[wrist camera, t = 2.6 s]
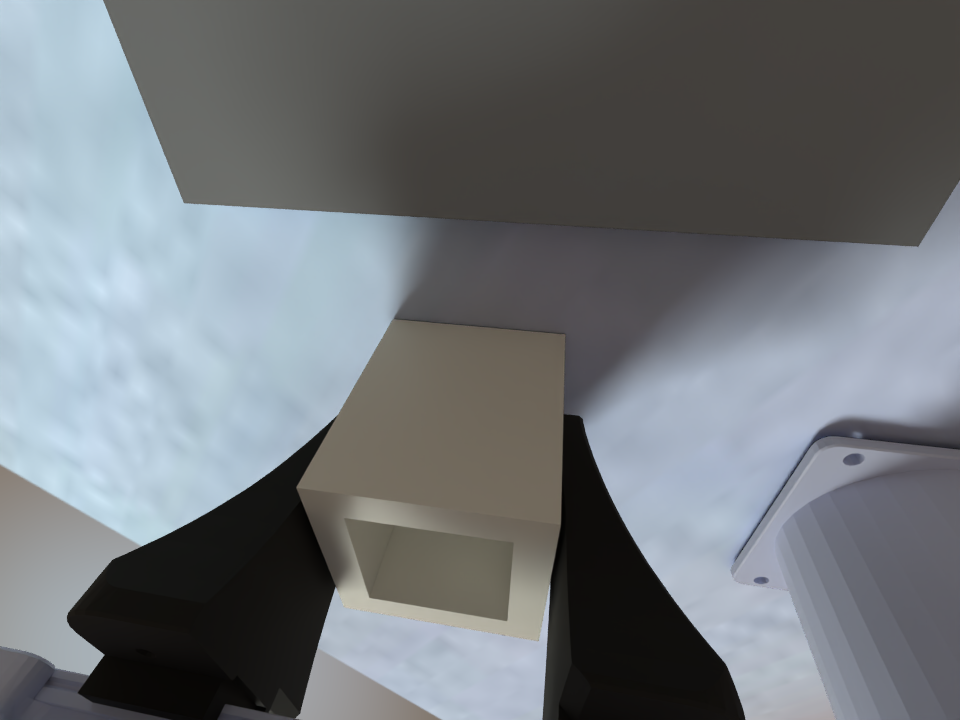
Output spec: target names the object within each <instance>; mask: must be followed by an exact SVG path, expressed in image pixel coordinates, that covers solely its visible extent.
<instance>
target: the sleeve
mask: <svg viewBox="0 0 960 720" xmlns="http://www.w3.org/2000/svg"><path fill="white" fill-rule="evenodd" d="M564 369H565V334H555V333H543V332H532V331H521V330H510V329H499V328H487V327H476V326H465V325H454V324H442V323H431V322H420V321H409V320H397V319H393V320H392V322H391V323H390V325H389V327H388V329H387V330H386V332H385V334H384V336H383V337H382V339H381V341H380V343H379V344H378V346H377V348H376V350H375V351H374V353H373V355H372V357H371V358H370V360H369V362H368V364H367V365H366V367H365V369H364V370H363V372H362V374H361V376H360V377H359V379H358V381H357V383H356V384H355V386H354V388H353V390H352V391H351V393H350V395H349V397H348V398H347V400H346V402H345V404H344V405H343V407H342V409H341V411H340V412H339V414H338V416H337V417H336V419H335V421H334V423H333V424H332V426H331V428H330V430H329V431H328V433H327V435H326V437H325V438H324V440H323V442H322V444H321V445H320V447H319V449H318V451H317V452H316V454H315V456H314V458H313V459H312V461H311V463H310V464H309V466H308V468H307V470H306V471H305V473H304V475H303V477H302V478H301V480H300V482H299V484H298V485H297V487H296V488H297V491H298V493H299V496H300V498H301V501H302V503H303V506H304V508H305V511H306V513H307V516H308V518H309V521H310V523H311V526H312V528H313V531H314V533H315V536H316V538H317V541H318V543H319V546H320V548H321V551H322V553H323V556H324V558H325V561H326V563H327V566H328V568H329V571H330V573H331V576H332V578H333V581H334V583H335V586H336V588H337V591H338V593H339V596H340V598H341V601H342V603H343V606H344V607H345V608H350V609H356V610H362V611H368V612H373V613H379V614H385V615H391V616H396V617H402V618H408V619H414V620H419V621H425V622H431V623H437V624H442V625H448V626H454V627H460V628H465V629H471V630H477V631H483V632H488V633H494V634H500V635H505V636H511V637H517V638H523V639H528V640H534V641H539V637H540V632H541V627H542V621H543V616H544V611H545V606H546V600H547V595H548V590H549V584H550V579H551V574H552V569H553V563H554V558H555V553H556V548H557V542H558V537H559V532H560V526H561V495H562V453H563V411H564Z"/></svg>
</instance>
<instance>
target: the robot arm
mask: <svg viewBox="0 0 960 720" xmlns="http://www.w3.org/2000/svg"><path fill="white" fill-rule="evenodd" d="M337 416H338V415H337ZM337 416H336V417H337ZM336 417H335V418H334V419H333V420H332V421H331V422H330V423H329V424H328V425H327V426H326V427H324V428H323V429H322V430H321V431H320V432H319V433H318V434H317V435H315V436H314V437H313V438H312V439H311V440H310V441H309V442H308V443H306V444H305V445H304V446H303V447H302V448H300V449H299V450H298V451H297V452H295V453H294V454H293V455H292V456H291V457H289V458H288V459H287V460H286V461H284V462H283V463H282V464H281V465H279V466H278V467H277V468H275V469H274V470H273V471H271V472H270V473H269V474H267V475H266V476H265V477H263V478H262V479H260V480H259V481H258V482H256V483H255V484H253V485H252V486H250V487H249V488H247V489H246V490H244V491H243V492H241V493H240V494H238V495H236V496H235V497H233V498H231V499H230V500H228V501H226V502H225V503H223V504H222V505H220V506H218V507H217V508H215V509H213V510H212V511H210V512H208V513H207V514H205V515H203V516H201V517H199V518H198V519H196V520H194V521H192V522H190V523H188V524H187V525H185V526H183V527H181V528H179V529H177V530H175V531H173V532H171V533H169V534H167V535H165V536H163V537H161V538H159V539H157V540H155V541H153V542H151V543H148V544H146V545H144V546H142V547H140V548H138V549H136V550H133V551H131V552H129V553H127V554H125V555H122V556H120V557H118V558H115V559H113V560H112V561H111V562H110V563H109V565H108V566H107V567H106V568H105V569H104V570H103V572H102V573H101V574H100V575H99V576H98V578H97V579H96V580H95V581H94V583H93V584H92V585H91V586H90V588H88V590H87V591H86V592H85V593H84V595H83V596H82V597H81V598H80V599H79V601H78V602H77V603H76V604H75V605H74V607H73V608H72V609H71V610H70V612H69V613H68V615H67V622H68V623H69V625H70V627H71V628H72V629H73V630H74V631H75V632H76V633H77V634H79V635H80V636H81V637H83V638H84V639H85V640H86V641H88V642H89V643H90V644H92V645H93V646H94V647H95V648H97V649H98V650H99V651H101V652H102V653H103V654H104V657H103V658H102V659H101V661H100V662H99V663H98V665H97V666H96V668H95V669H94V670H93V672H92V673H91V675H90V676H89V675H84V674H80V673H75V672H70V671H66V670H61V669H56V668H55V666H54V665H53V664H52V663H51V662H49V661H48V660H46V659H44V658H42V657H40V656H38V655H35V654H33V653H29V652H26V651H21V650H16V649H11V648H7V647H1V646H0V720H299V719H295V718H296V717H297V716H298V715H299V714H300V711H301V707H302V703H303V699H304V695H305V692H306V688H307V683H308V680H309V676H310V672H311V669H312V665H313V661H314V657H315V653H316V650H317V647H318V643H319V640H320V636H321V633H322V629H323V626H324V622H325V619H326V616H327V612H328V609H329V606H330V603H331V600H332V596H333V593H334V590H335V587H336V586H335V583H334V581H333V578H332V576H331V573H330V571H329V568H328V566H327V563H326V561H325V558H324V556H323V553H322V551H321V548H320V546H319V543H318V541H317V538H316V536H315V533H314V531H313V528H312V526H311V523H310V521H309V518H308V516H307V513H306V511H305V508H304V506H303V503H302V501H301V498H300V496H299V493H298V491H297V488H296V487H297V485H298V484H299V482H300V480H301V478H302V477H303V475H304V473H305V471H306V470H307V468H308V466H309V464H310V463H311V461H312V459H313V458H314V456H315V454H316V452H317V451H318V449H319V447H320V445H321V444H322V442H323V440H324V438H325V437H326V435H327V433H328V431H329V430H330V428H331V426H332V424H333V423H334V421H335V419H336ZM731 574H732V577H733V579H734V580H735V581H736V582H738V583H741V584H746V585H752V586H759V587H766V588H772V589H779V590H786V591H789V593H790V596H791V598H792V601H793V604H794V607H795V609H796V612H797V615H798V617H799V620H800V623H801V626H802V628H803V631H804V634H805V637H806V639H807V642H808V645H809V647H810V650H811V653H812V656H813V658H814V661H815V664H816V666H817V669H818V672H819V675H820V677H821V680H822V683H823V685H824V688H825V691H826V694H827V696H828V699H829V702H830V704H831V707H832V710H833V713H834V715H835V718H836V720H960V450H957V449H948V448H939V447H929V446H920V445H911V444H902V443H893V442H884V441H874V440H865V439H856V438H847V437H838V436H831V437H825V438H822V439H820V440H818V441H816V442H815V443H814V444H813V445H812V446H811V447H810V449H809V450H808V452H807V453H806V455H805V456H804V458H803V459H802V461H801V462H800V464H799V465H798V467H797V468H796V470H795V471H794V473H793V474H792V476H791V477H790V479H789V480H788V482H787V484H786V485H785V487H784V488H783V490H782V491H781V493H780V494H779V496H778V497H777V499H776V500H775V502H774V503H773V505H772V506H771V508H770V509H769V511H768V512H767V514H766V515H765V517H764V518H763V520H762V521H761V523H760V524H759V526H758V528H757V529H756V531H755V532H754V534H753V535H752V537H751V538H750V540H749V541H748V543H747V544H746V546H745V547H744V549H743V550H742V552H741V553H740V555H739V556H738V558H737V559H736V561H735V562H734V564H733V565H732V567H731ZM543 720H745V715H744V711H743V708H742V705H741V702H740V699H739V696H738V693H737V691H736V688H735V685H734V683H733V680H732V678H731V675H730V673H729V670H728V668H727V666H726V664H725V663H724V661H723V660H722V659H721V658H720V657H719V656H718V654H717V653H716V652H715V651H714V650H713V649H712V647H711V646H710V645H709V644H708V643H707V641H706V640H705V639H704V638H703V637H702V635H701V634H700V633H699V632H698V630H697V629H696V628H695V627H694V626H693V624H692V623H691V622H690V620H689V619H688V618H687V617H686V615H685V614H684V613H683V611H682V610H681V609H680V607H679V606H678V605H677V604H676V602H675V601H674V600H673V598H672V597H671V595H670V594H669V592H668V591H667V590H666V588H665V587H664V585H663V584H662V582H661V581H660V580H659V578H658V577H657V575H656V574H655V572H654V571H653V570H652V568H651V567H650V565H649V564H648V562H647V561H646V559H645V557H644V556H643V554H642V553H641V551H640V549H639V548H638V546H637V545H636V543H635V541H634V540H633V538H632V536H631V534H630V533H629V531H628V529H627V528H626V526H625V524H624V522H623V520H622V518H621V517H620V515H619V513H618V511H617V509H616V507H615V505H614V503H613V501H612V499H611V497H610V495H609V492H608V490H607V488H606V486H605V484H604V481H603V479H602V477H601V474H600V472H599V469H598V467H597V465H596V462H595V459H594V457H593V454H592V451H591V448H590V445H589V442H588V439H587V436H586V432H585V428H584V424H583V419H582V418H581V417H580V416H576V415H566V414H563V453H562V495H561V526H560V532H559V537H558V542H557V548H556V553H555V558H554V563H553V569H552V574H551V579H550V605H549V623H548V641H547V658H546V674H545V690H544V706H543Z"/></svg>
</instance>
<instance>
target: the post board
mask: <svg viewBox="0 0 960 720" xmlns="http://www.w3.org/2000/svg"><path fill="white" fill-rule="evenodd" d="M103 1H104V3H105V6H106V8H107V11H108V13H109V16H110V18H111V21H112V23H113V26H114V28H115V31H116V33H117V36H118V38H119V41H120V44H121V46H122V49H123V51H124V54H125V56H126V59H127V61H128V64H129V66H130V69H131V71H132V74H133V76H134V79H135V81H136V84H137V86H138V89H139V91H140V94H141V96H142V99H143V101H144V104H145V106H146V109H147V111H148V114H149V116H150V119H151V121H152V124H153V126H154V129H155V131H156V134H157V136H158V139H159V141H160V144H161V146H162V149H163V152H164V154H165V157H166V159H167V162H168V164H169V167H170V169H171V172H172V174H173V177H174V179H175V182H176V184H177V187H178V189H179V192H180V194H181V197H182V199H183V202H184V203H191V204H208V205H225V206H242V207H259V208H276V209H293V210H310V211H326V212H343V213H360V214H377V215H394V216H411V217H428V218H445V219H462V220H478V221H495V222H512V223H529V224H546V225H563V226H580V227H597V228H613V229H630V230H647V231H664V232H681V233H698V234H715V235H732V236H748V237H765V238H782V239H799V240H816V241H833V242H850V243H867V244H883V245H900V246H917V247H918V246H919V244H920V243H921V241H922V240H923V238H924V236H925V235H926V233H927V232H928V230H929V228H930V227H931V225H932V224H933V222H934V220H935V219H936V217H937V216H938V214H939V212H940V211H941V209H942V208H943V206H944V204H945V203H946V201H947V200H948V198H949V196H950V195H951V193H952V192H953V190H954V188H955V187H956V185H957V184H958V182H959V180H960V0H103Z"/></svg>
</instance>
